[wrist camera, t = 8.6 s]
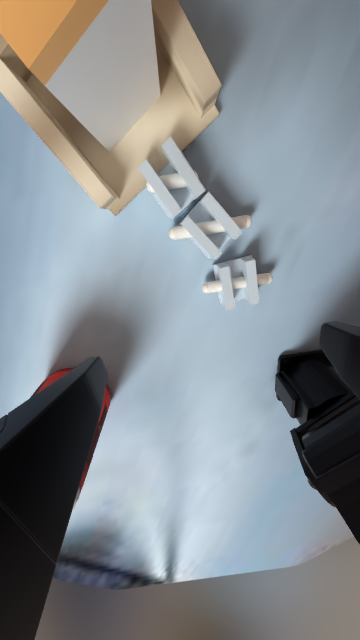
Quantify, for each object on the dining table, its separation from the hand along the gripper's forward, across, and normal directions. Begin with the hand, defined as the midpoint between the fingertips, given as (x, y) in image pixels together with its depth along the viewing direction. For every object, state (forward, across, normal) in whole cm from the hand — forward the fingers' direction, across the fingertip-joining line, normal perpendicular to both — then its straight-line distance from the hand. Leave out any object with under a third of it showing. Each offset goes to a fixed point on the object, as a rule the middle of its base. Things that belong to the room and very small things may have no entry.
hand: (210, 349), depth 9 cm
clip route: (+13, -2, -3) cm, 14 cm away
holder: (+13, +3, -13) cm, 19 cm away
